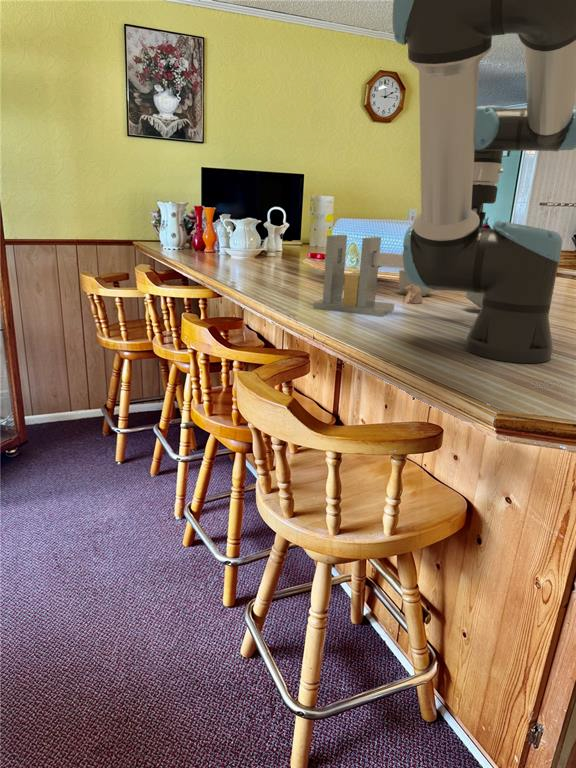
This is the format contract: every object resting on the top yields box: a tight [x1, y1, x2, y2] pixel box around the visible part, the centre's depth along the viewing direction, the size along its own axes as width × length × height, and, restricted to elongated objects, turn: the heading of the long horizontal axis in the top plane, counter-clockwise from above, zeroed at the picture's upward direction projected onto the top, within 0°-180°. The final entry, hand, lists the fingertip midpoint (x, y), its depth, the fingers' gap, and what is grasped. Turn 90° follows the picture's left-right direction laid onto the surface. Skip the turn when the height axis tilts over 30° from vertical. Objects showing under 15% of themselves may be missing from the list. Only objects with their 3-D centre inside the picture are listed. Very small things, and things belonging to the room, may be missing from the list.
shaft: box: [372, 252, 404, 269], centre depth 130 cm, size 4×24×4 cm, turn 67°
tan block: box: [342, 271, 360, 306], centre depth 138 cm, size 7×4×7 cm, turn 157°
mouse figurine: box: [402, 284, 430, 305], centre depth 152 cm, size 5×8×7 cm, turn 91°
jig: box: [313, 234, 395, 318], centre depth 137 cm, size 12×18×18 cm, turn 67°
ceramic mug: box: [464, 292, 483, 309], centre depth 143 cm, size 11×8×8 cm
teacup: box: [398, 268, 434, 297], centre depth 167 cm, size 14×11×8 cm
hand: (464, 289), depth 127 cm, fingers closed on shaft, 4 cm apart
